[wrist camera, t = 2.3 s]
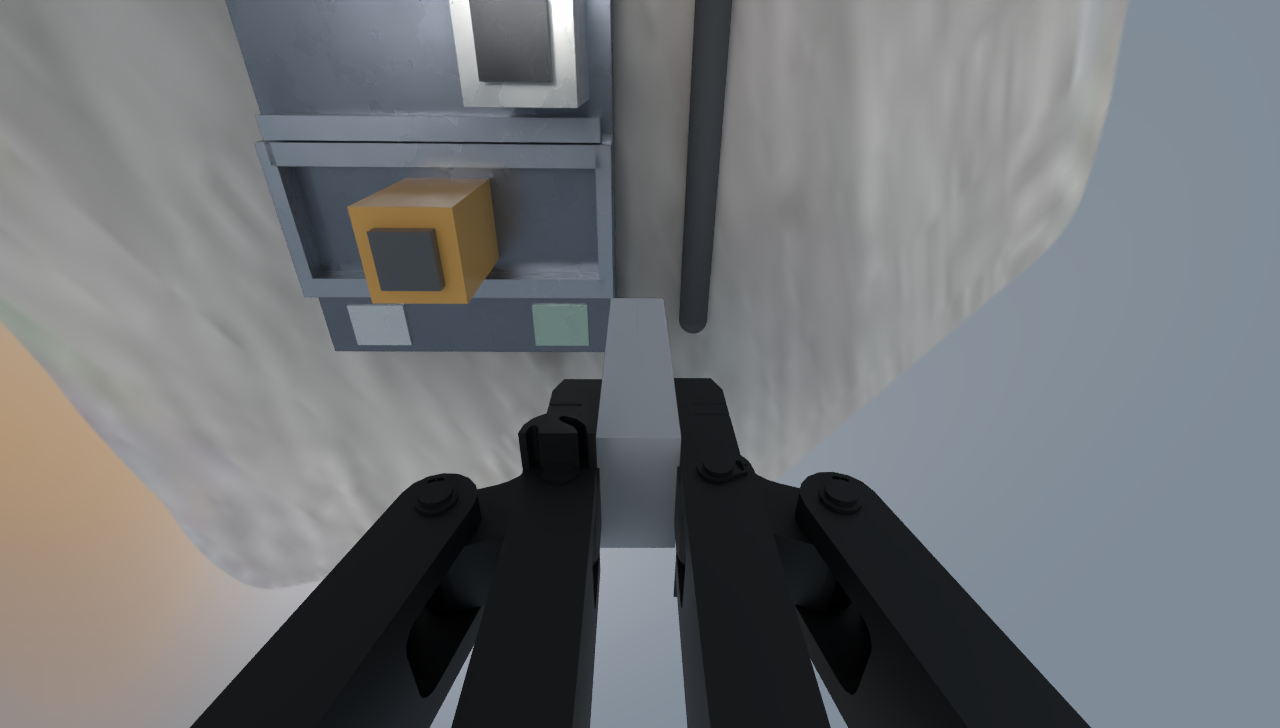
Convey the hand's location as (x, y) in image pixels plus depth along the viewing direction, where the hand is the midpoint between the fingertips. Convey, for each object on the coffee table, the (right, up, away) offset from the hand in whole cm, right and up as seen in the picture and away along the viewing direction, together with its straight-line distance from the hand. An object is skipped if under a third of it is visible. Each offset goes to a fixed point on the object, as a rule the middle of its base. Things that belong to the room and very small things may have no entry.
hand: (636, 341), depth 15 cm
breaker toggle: (-9, +7, +11) cm, 16 cm away
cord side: (+3, +9, +12) cm, 15 cm away
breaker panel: (-9, +9, +12) cm, 18 cm away
